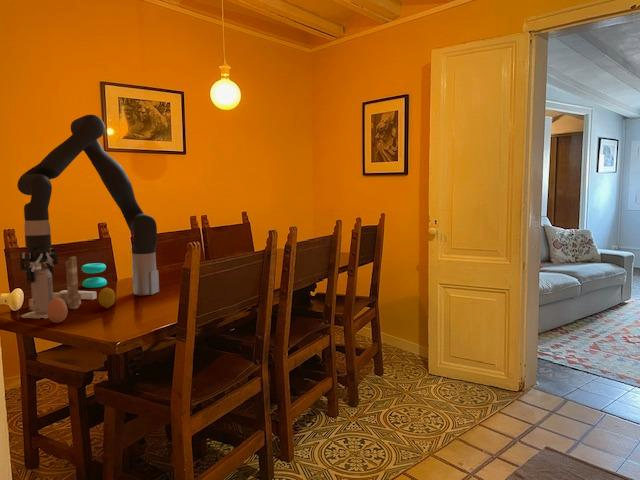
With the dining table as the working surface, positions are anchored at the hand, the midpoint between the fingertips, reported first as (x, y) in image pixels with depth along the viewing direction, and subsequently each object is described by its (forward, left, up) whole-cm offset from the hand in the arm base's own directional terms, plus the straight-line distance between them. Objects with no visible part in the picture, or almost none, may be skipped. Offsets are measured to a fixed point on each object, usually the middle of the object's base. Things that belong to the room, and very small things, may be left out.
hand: (40, 280), depth 155 cm
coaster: (0, 0, -12) cm, 12 cm away
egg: (-12, +8, -12) cm, 19 cm away
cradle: (+3, -10, -12) cm, 16 cm away
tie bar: (+4, -24, -12) cm, 27 cm away
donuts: (+12, -46, -12) cm, 49 cm away
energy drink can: (0, 0, -12) cm, 12 cm away
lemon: (-17, -11, -12) cm, 24 cm away
